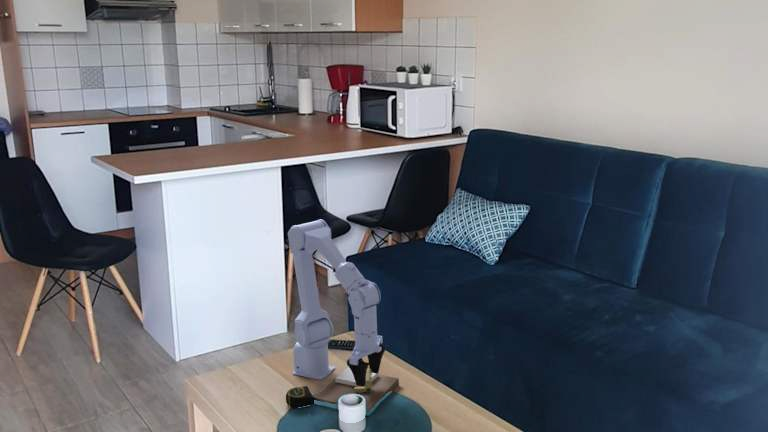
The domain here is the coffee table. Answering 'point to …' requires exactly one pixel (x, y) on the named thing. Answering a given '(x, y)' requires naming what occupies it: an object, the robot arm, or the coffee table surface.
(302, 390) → the tape measure
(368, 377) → the t-key
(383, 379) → the lock board
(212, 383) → the coffee table surface
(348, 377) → the lid
